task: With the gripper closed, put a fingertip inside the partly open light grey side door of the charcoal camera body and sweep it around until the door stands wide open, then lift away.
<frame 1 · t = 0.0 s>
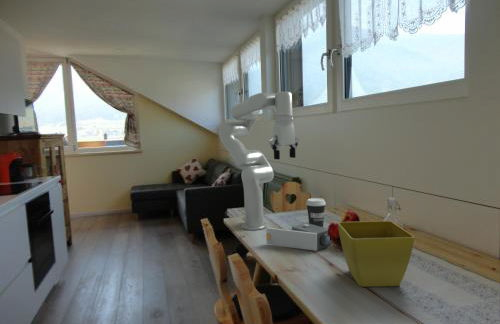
hand: (284, 158, 151), 37 cm above the table, tool pointing down, fingers open, 9 cm apart
camera body: (311, 243, 146), on the table
coffee cup: (316, 230, 165), on the table
side door: (290, 238, 141), point 4 cm above the table, hinge at 25.0°
flower pot: (372, 278, 111), on the table
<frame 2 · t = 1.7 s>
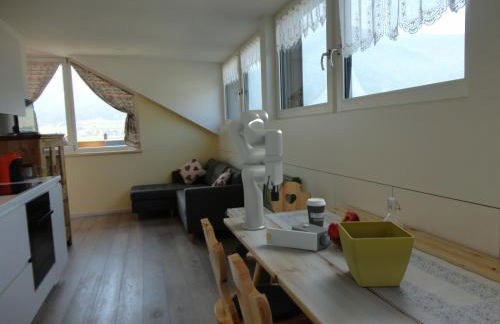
hand: (275, 200, 146), 19 cm above the table, tool pointing down, fingers closed
nothing on the table moved.
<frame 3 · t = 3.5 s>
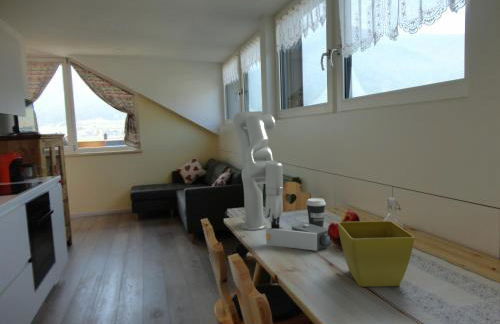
hand: (275, 232, 147), 5 cm above the table, tool pointing down, fingers closed
side door: (290, 239, 141), point 4 cm above the table, hinge at 25.9°, touching gripper
everything else where it was.
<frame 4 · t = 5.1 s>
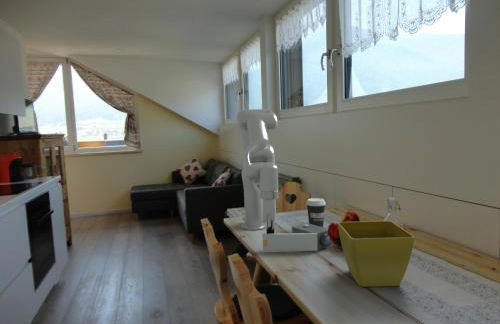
hand: (270, 237, 140), 5 cm above the table, tool pointing down, fingers closed
side door: (289, 242, 137), point 4 cm above the table, hinge at 47.8°, touching gripper
everything else where it was.
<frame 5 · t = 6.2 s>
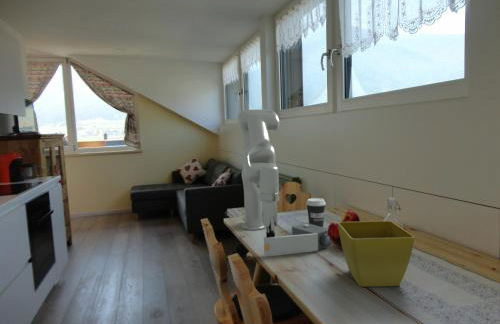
hand: (270, 241, 135), 5 cm above the table, tool pointing down, fingers closed
side door: (291, 244, 134), point 4 cm above the table, hinge at 61.6°, touching gripper
everything else where it was.
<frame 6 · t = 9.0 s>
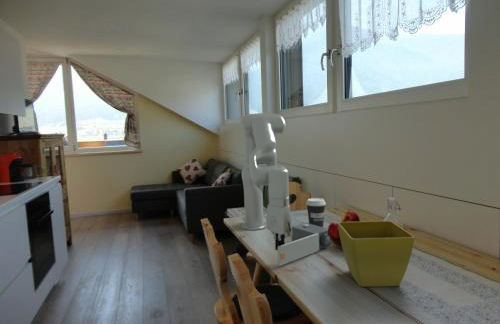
hand: (280, 249, 126), 5 cm above the table, tool pointing down, fingers closed
side door: (300, 248, 129), point 4 cm above the table, hinge at 91.4°, touching gripper
everything else where it was.
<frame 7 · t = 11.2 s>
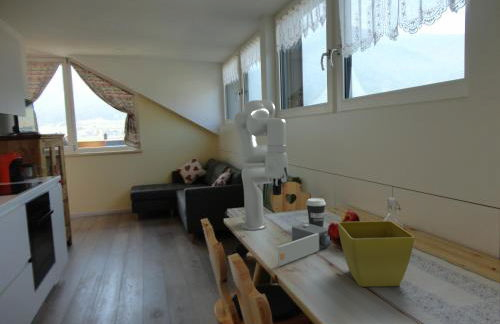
hand: (277, 194, 136), 24 cm above the table, tool pointing down, fingers closed
side door: (300, 248, 129), point 4 cm above the table, hinge at 91.5°
everything else where it was.
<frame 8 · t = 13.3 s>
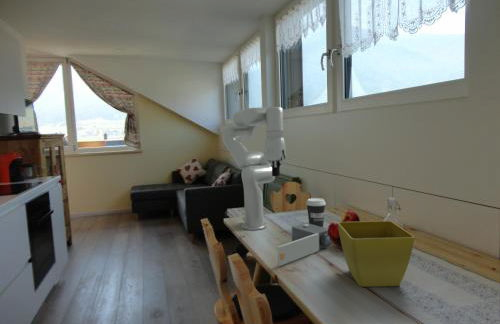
hand: (275, 175, 151), 29 cm above the table, tool pointing down, fingers closed
nothing on the table moved.
at the end: side door at +92° (first picture: +25°); coffee cup moved 0.2 cm from its start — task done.
